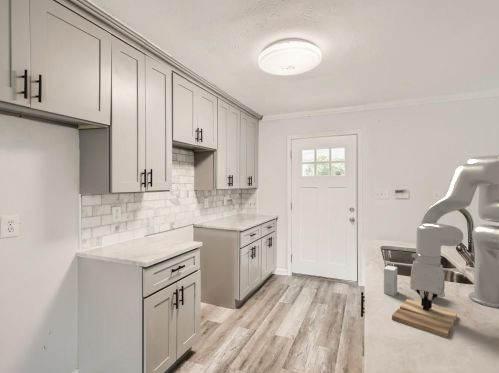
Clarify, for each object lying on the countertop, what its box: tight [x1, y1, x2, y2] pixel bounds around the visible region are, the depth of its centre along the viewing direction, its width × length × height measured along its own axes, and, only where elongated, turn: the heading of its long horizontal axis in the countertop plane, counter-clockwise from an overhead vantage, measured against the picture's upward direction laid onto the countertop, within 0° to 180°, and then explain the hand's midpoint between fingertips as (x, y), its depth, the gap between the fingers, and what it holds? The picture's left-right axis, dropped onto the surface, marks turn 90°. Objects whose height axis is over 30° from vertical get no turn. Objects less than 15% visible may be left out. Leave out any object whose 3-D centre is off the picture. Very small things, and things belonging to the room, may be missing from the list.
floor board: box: [391, 307, 453, 339], centre depth 97 cm, size 20×18×2 cm
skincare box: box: [383, 265, 398, 297], centre depth 119 cm, size 6×4×12 cm
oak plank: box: [399, 298, 458, 327], centre depth 100 cm, size 10×16×2 cm, turn 46°
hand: (426, 308), depth 101 cm, fingers closed
